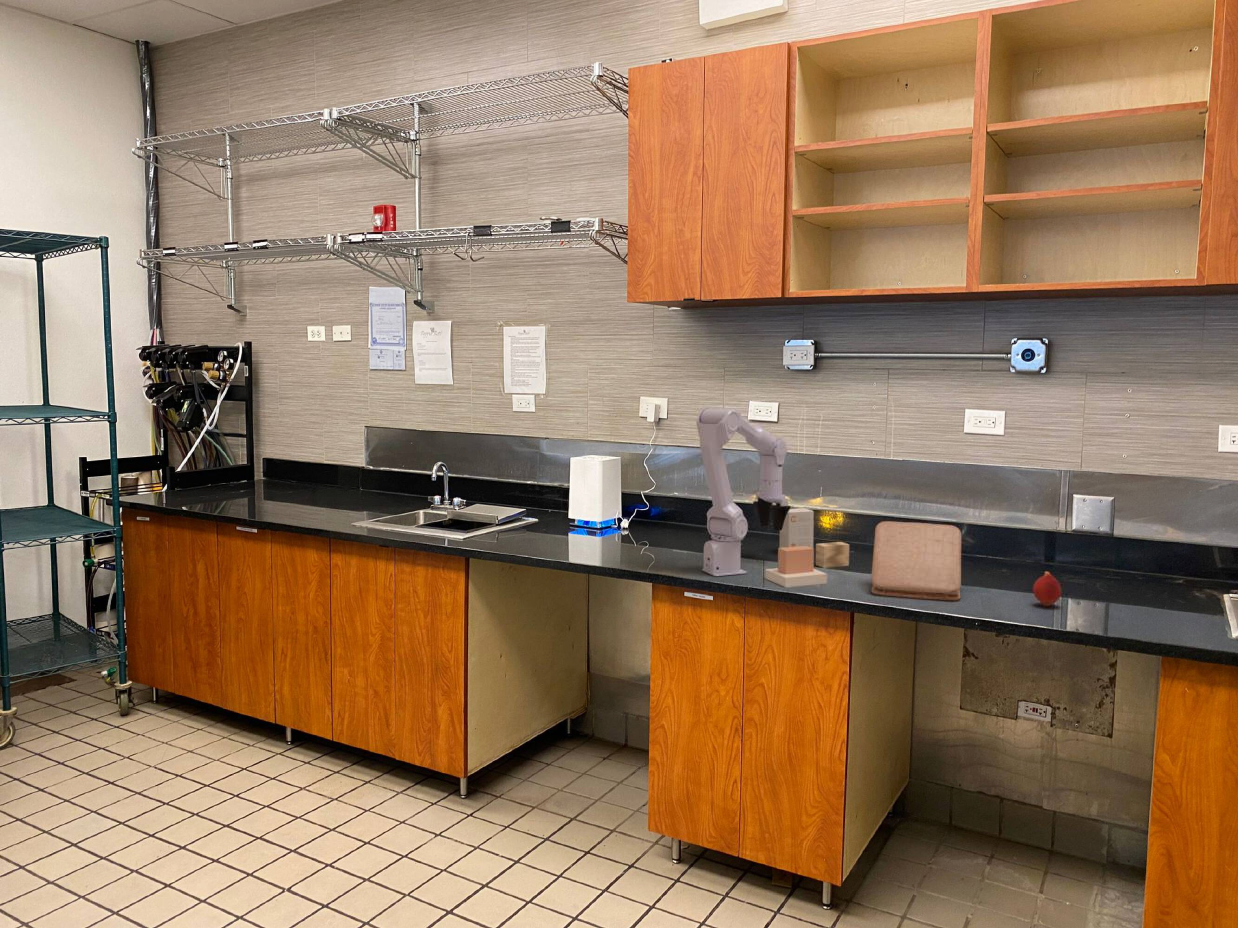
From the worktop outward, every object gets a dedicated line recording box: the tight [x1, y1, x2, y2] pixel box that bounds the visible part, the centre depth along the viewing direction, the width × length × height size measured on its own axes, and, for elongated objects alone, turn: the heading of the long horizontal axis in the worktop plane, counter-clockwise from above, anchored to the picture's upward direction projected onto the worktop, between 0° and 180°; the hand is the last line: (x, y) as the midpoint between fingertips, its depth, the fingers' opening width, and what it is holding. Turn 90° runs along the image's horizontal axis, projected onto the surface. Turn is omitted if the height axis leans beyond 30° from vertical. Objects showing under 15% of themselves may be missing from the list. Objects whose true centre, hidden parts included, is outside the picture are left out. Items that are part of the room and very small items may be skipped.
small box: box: [779, 507, 815, 549], centre depth 261 cm, size 8×6×13 cm
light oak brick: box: [815, 541, 850, 569], centre depth 246 cm, size 8×4×6 cm, turn 110°
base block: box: [765, 567, 828, 588], centre depth 229 cm, size 12×10×3 cm
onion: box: [1032, 571, 1062, 607], centre depth 203 cm, size 6×6×8 cm
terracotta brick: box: [777, 546, 815, 574], centre depth 228 cm, size 8×4×6 cm, turn 110°
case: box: [870, 520, 962, 602], centre depth 219 cm, size 20×21×16 cm
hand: (771, 528), depth 251 cm, fingers open, 7 cm apart
